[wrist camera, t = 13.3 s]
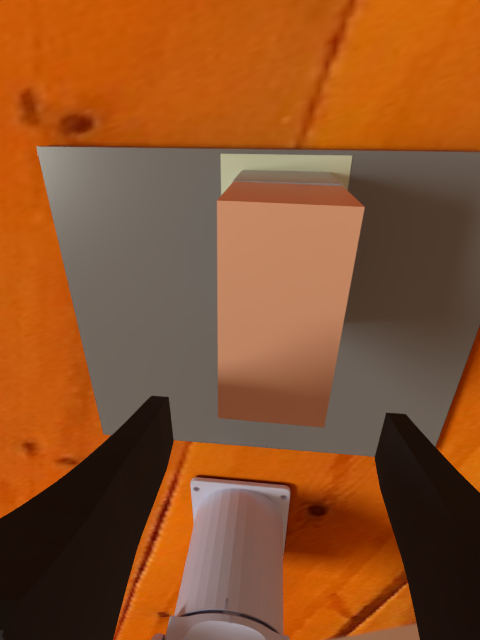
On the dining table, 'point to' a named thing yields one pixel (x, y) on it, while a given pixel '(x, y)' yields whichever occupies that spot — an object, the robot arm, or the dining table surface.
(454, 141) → the dining table surface
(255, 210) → the terracotta brick
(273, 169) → the baseplate
